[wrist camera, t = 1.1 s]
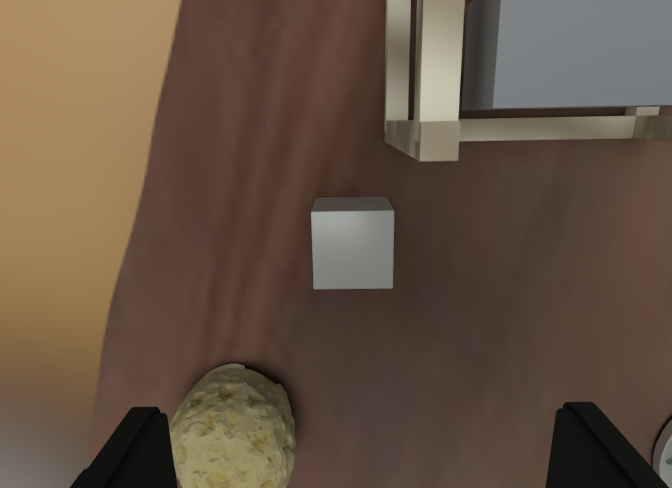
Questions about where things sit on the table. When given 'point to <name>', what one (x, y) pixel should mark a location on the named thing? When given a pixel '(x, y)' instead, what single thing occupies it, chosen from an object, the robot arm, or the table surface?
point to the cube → (352, 243)
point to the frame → (444, 90)
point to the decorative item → (234, 432)
